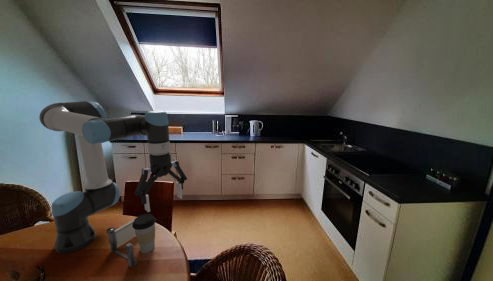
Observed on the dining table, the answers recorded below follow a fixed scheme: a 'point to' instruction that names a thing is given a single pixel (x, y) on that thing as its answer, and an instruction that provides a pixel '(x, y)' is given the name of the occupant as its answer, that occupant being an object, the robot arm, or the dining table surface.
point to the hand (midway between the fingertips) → (164, 203)
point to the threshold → (123, 255)
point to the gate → (124, 233)
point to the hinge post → (112, 239)
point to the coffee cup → (145, 232)
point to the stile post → (130, 255)
